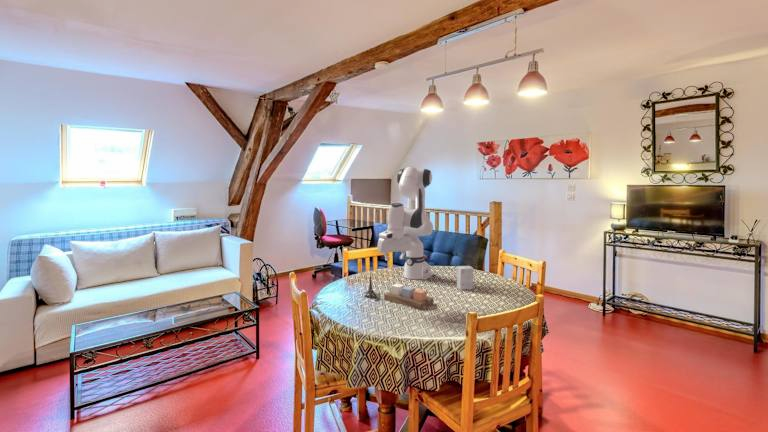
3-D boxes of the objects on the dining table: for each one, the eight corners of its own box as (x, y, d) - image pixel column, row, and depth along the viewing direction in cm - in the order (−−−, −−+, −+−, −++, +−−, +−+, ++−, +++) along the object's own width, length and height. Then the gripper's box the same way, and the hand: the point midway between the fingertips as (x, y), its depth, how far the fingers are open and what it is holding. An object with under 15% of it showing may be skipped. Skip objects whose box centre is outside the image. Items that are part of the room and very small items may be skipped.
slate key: (407, 294, 219) (407, 286, 218) (415, 296, 216) (415, 287, 215) (402, 297, 215) (402, 288, 214) (409, 299, 212) (409, 290, 211)
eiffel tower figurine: (380, 302, 216) (380, 278, 214) (361, 302, 216) (361, 278, 214) (380, 293, 231) (380, 270, 229) (363, 293, 231) (363, 270, 229)
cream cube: (396, 292, 223) (396, 283, 223) (404, 294, 220) (404, 285, 220) (391, 294, 220) (391, 285, 219) (398, 296, 216) (398, 287, 216)
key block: (397, 294, 228) (397, 289, 227) (433, 303, 212) (433, 298, 212) (384, 299, 219) (384, 294, 218) (420, 309, 203) (420, 304, 203)
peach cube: (418, 297, 214) (419, 288, 213) (426, 300, 211) (426, 290, 210) (413, 300, 210) (413, 291, 209) (421, 302, 207) (421, 293, 206)
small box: (469, 286, 243) (469, 265, 241) (473, 289, 237) (473, 268, 235) (456, 286, 242) (456, 265, 240) (460, 290, 236) (460, 268, 234)
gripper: (407, 232, 219) (406, 257, 220) (376, 233, 208) (375, 260, 209) (414, 234, 214) (413, 259, 215) (383, 235, 203) (381, 262, 204)
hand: (394, 259), depth 212 cm, fingers open, 8 cm apart
